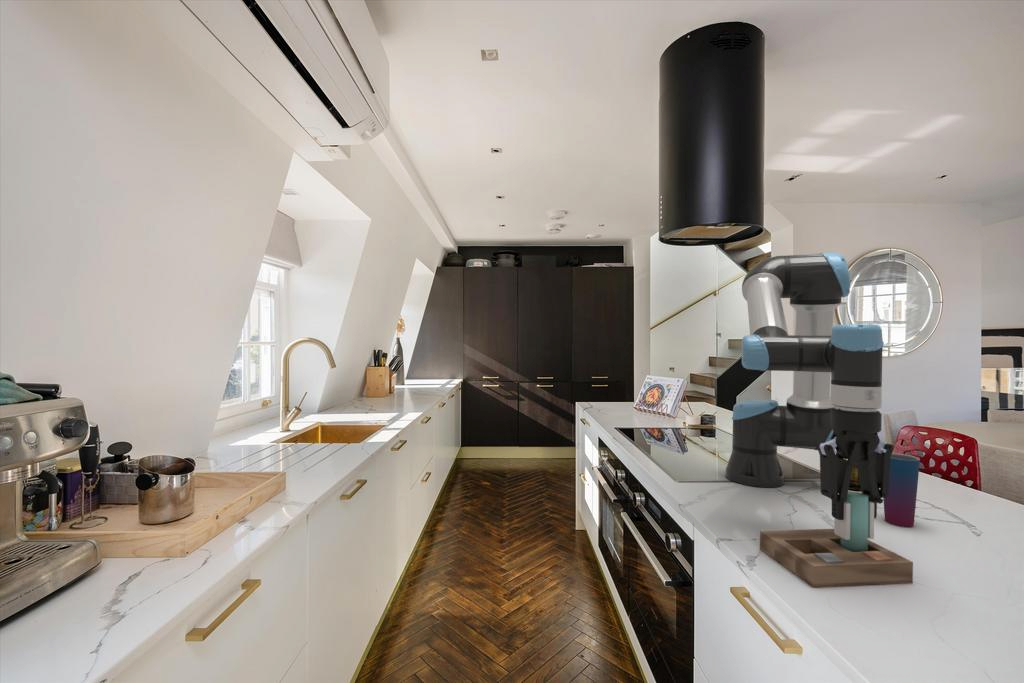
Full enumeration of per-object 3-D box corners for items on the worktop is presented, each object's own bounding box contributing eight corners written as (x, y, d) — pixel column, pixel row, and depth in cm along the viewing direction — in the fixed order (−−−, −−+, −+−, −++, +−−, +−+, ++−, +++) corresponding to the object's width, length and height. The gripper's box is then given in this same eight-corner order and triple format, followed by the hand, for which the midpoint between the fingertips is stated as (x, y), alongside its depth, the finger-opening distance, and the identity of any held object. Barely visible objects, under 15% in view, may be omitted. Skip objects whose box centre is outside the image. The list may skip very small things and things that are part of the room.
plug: (834, 555, 86) (835, 491, 86) (854, 554, 87) (855, 490, 87) (852, 565, 82) (853, 498, 82) (873, 564, 83) (874, 498, 83)
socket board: (759, 549, 90) (760, 529, 90) (845, 545, 92) (845, 526, 92) (813, 587, 76) (813, 564, 76) (912, 582, 78) (912, 560, 78)
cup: (926, 530, 100) (927, 461, 100) (890, 527, 101) (891, 459, 101) (906, 518, 107) (907, 453, 107) (873, 516, 108) (874, 451, 108)
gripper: (828, 412, 80) (826, 546, 80) (917, 411, 81) (915, 543, 82) (797, 405, 87) (795, 529, 87) (879, 405, 89) (878, 526, 89)
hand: (853, 535), depth 84 cm, fingers closed on plug, 4 cm apart
